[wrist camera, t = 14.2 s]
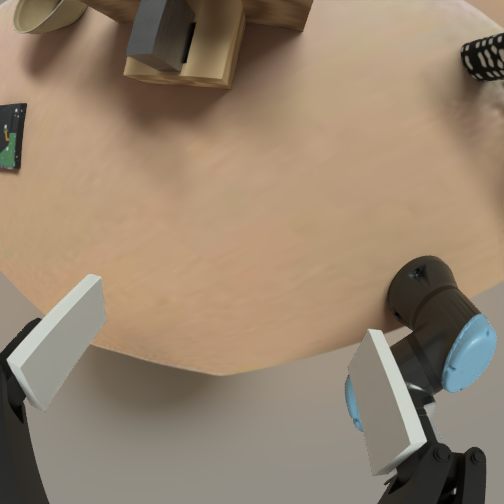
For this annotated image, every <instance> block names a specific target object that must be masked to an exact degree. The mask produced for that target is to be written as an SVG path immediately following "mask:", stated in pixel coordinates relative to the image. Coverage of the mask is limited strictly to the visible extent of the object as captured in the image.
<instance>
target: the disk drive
mask: <svg viewBox="0 0 504 504" xmlns="http://www.w3.org/2000/svg"><path fill="white" fill-rule="evenodd" d="M26 108H27V103H19V104H9V105H0V168H6V169H12V170H13V169H19V168H21V151H22V139H23V129H24V121H25V115H26Z"/></svg>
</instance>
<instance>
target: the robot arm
mask: <svg viewBox="0 0 504 504" xmlns="http://www.w3.org/2000/svg"><path fill="white" fill-rule="evenodd" d="M388 304H389V308H390V310H391V312H392V313H393V315H394V317H395V318H396V319H397V320H398V321H399V322H400V323H402V324H403V325H405V326H406V327H408V328H409V329H411V330H412V331H413V332H412V333H411V334H409V335H408V336H407V337H405V338H403V339H402V340H400V341H399V342H397V343H396V344H394V345H393V346H391V347H389V346H388V344H387V342H386V340H385V337H384V335H383V333H382V331H381V330H375V329H368V330H367V332H366V334H365V336H364V338H363V340H362V342H361V344H360V346H359V348H358V350H357V352H356V353H355V355H354V357H353V359H352V361H351V363H350V364H349V366H348V371H349V375H348V377H347V380H346V383H345V397H346V403H347V407H348V411H349V414H350V416H351V418H353V422H354V424H355V426H356V428H358V430H360V431H362V432H364V436H365V441H366V446H367V451H368V456H369V461H370V466H371V471H372V476H378V475H384V474H388V473H390V472H391V471H392V470H393V473H394V476H393V477H392V478H390V479H389V480H387V481H386V482H385V483H384V485H387V484H388V483H390V484H389V486H388V487H387V489H386V491H385V492H384V494H383V496H382V497H381V499H380V500H379V502H378V504H484V503H485V488H486V457H485V454H484V452H483V451H482V450H481V449H480V448H477V447H472V448H470V449H468V450H467V451H466V452H465V453H454V452H451V450H450V449H449V447H448V446H446V445H445V444H443V443H442V440H441V438H440V435H439V433H438V430H437V428H436V426H435V423H434V421H433V414H434V411H435V409H436V406H437V404H436V402H435V400H434V397H433V395H434V394H436V393H437V392H439V391H440V390H442V389H443V388H444V389H445V390H446V391H448V392H451V393H454V392H458V391H459V390H463V389H464V388H466V387H468V386H469V385H470V384H472V383H473V382H474V381H475V380H476V379H477V378H478V377H479V376H480V375H481V374H482V373H483V371H484V370H485V369H486V367H487V366H488V364H489V362H490V360H491V358H492V356H493V354H494V352H495V348H496V342H497V341H496V340H497V338H496V333H495V331H494V329H493V328H492V326H491V325H490V323H489V322H488V320H487V318H486V317H485V315H483V314H482V313H481V312H480V311H479V310H478V309H477V308H476V307H475V306H474V305H473V303H472V302H471V301H470V300H469V299H468V298H467V297H466V296H465V295H464V294H463V293H462V292H461V291H460V290H459V289H458V286H457V284H456V281H455V279H454V276H453V273H452V271H451V269H450V268H449V267H448V265H447V264H445V263H444V262H443V261H442V260H441V259H439V258H437V257H435V256H422V257H419V258H416V259H414V260H412V261H411V262H409V263H408V264H406V265H405V266H404V267H403V268H402V269H401V270H400V271H399V272H398V274H397V275H396V276H395V278H394V280H393V281H392V284H391V286H390V289H389V293H388ZM105 322H106V314H105V305H104V297H103V286H102V277H100V276H96V275H93V274H88V275H87V276H86V277H85V278H84V279H83V280H82V281H81V282H80V283H79V284H78V285H77V286H75V287H74V288H73V289H72V290H71V291H70V292H69V293H68V294H67V295H66V296H65V297H64V298H63V299H62V300H61V301H60V302H59V303H58V304H57V305H56V306H55V307H54V308H53V309H52V310H51V311H50V312H49V313H48V314H47V315H46V316H45V317H44V318H43V319H40V318H36V319H35V320H33V321H31V322H29V323H28V324H27V325H26V326H25V327H24V328H23V329H22V331H20V332H19V333H18V334H17V337H15V338H14V339H13V340H12V341H11V342H10V343H9V344H8V345H7V346H6V348H5V349H4V350H3V351H2V352H1V353H0V504H49V501H48V499H47V496H46V493H45V490H44V487H43V484H42V481H41V478H40V474H39V471H38V467H37V464H36V460H35V456H34V452H33V448H32V444H31V439H30V434H29V428H28V423H27V417H26V410H25V405H24V403H23V400H24V399H25V397H27V399H28V401H29V402H30V404H31V405H32V406H34V407H35V408H37V409H39V410H41V411H42V412H45V411H46V409H47V407H48V406H49V404H50V403H51V401H52V399H53V398H54V396H55V395H56V393H57V392H58V390H59V388H60V387H61V385H62V384H63V382H64V381H65V379H66V378H67V376H68V375H69V373H70V372H71V370H72V369H73V367H74V366H75V364H76V363H77V362H78V360H79V358H80V357H81V356H82V354H83V353H84V351H85V350H86V349H87V347H88V346H89V344H90V343H91V342H92V340H93V339H94V337H95V336H96V335H97V333H98V332H99V331H100V329H101V328H102V326H103V325H104V324H105Z"/></svg>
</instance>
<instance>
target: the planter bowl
mask: <svg viewBox="0 0 504 504" xmlns="http://www.w3.org/2000/svg"><path fill="white" fill-rule="evenodd" d="M87 6H88V5H86V4H84V3H82V2H80V1H78V0H19V1H18V3H17V6H16V8H15V11H14V15H13V27H14V29H15V31H17V32H18V33H30V34H41V33H46V32H50V31H53V30H56V29H59V28H61V27H66V26H68V25H70V24H72V23H73V22H75V21H76V20H77V19H78V18H79V17H80V16H81V15H82V14H83V12H84V11H85V9H86V8H87Z"/></svg>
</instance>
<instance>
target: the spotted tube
mask: <svg viewBox="0 0 504 504" xmlns="http://www.w3.org/2000/svg"><path fill="white" fill-rule="evenodd" d="M461 57H462V61H463V63H464V66H465V68H466V69H467V71H468V72H469V74H470V75H471V76H472V77H473V78H475V79H476V80H478V81H481V82H483V81H493V80H504V33H500V34H496V35H493V36H489V37H485V38H482V39H479V40H475V41H472V42H469V43H466V44H464V45H463V47H462V49H461Z"/></svg>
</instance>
